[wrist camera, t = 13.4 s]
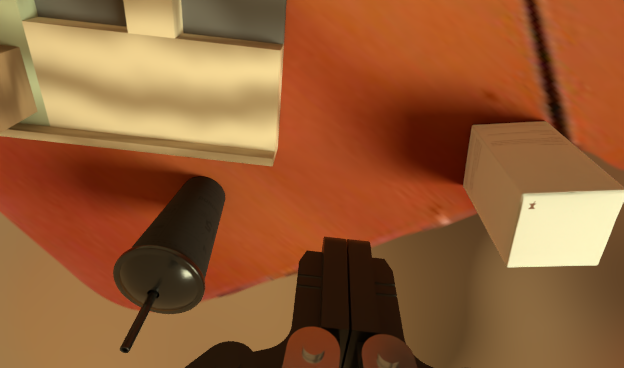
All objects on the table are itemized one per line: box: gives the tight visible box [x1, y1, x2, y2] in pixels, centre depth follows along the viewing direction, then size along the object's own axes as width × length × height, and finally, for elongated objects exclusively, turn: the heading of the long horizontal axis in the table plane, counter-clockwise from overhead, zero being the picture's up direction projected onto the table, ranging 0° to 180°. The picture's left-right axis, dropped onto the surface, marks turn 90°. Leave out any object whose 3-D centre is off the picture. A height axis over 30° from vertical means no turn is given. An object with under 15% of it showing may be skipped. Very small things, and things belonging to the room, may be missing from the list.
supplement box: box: [463, 121, 624, 267], centre depth 35 cm, size 7×7×13 cm
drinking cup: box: [113, 177, 225, 353], centre depth 37 cm, size 8×8×20 cm
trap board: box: [0, 0, 286, 166], centre depth 35 cm, size 18×30×4 cm, turn 84°
